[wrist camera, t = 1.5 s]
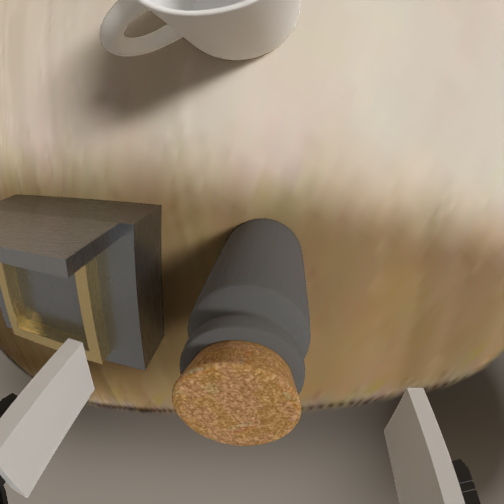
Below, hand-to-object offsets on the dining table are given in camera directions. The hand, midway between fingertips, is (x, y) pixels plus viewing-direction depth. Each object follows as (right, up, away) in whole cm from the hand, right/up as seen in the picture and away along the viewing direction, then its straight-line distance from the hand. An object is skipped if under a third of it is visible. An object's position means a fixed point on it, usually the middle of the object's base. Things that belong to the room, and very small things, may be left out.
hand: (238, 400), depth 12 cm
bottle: (+1, +5, +13) cm, 14 cm away
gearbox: (-16, +5, +15) cm, 23 cm away
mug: (-2, +22, +7) cm, 23 cm away
